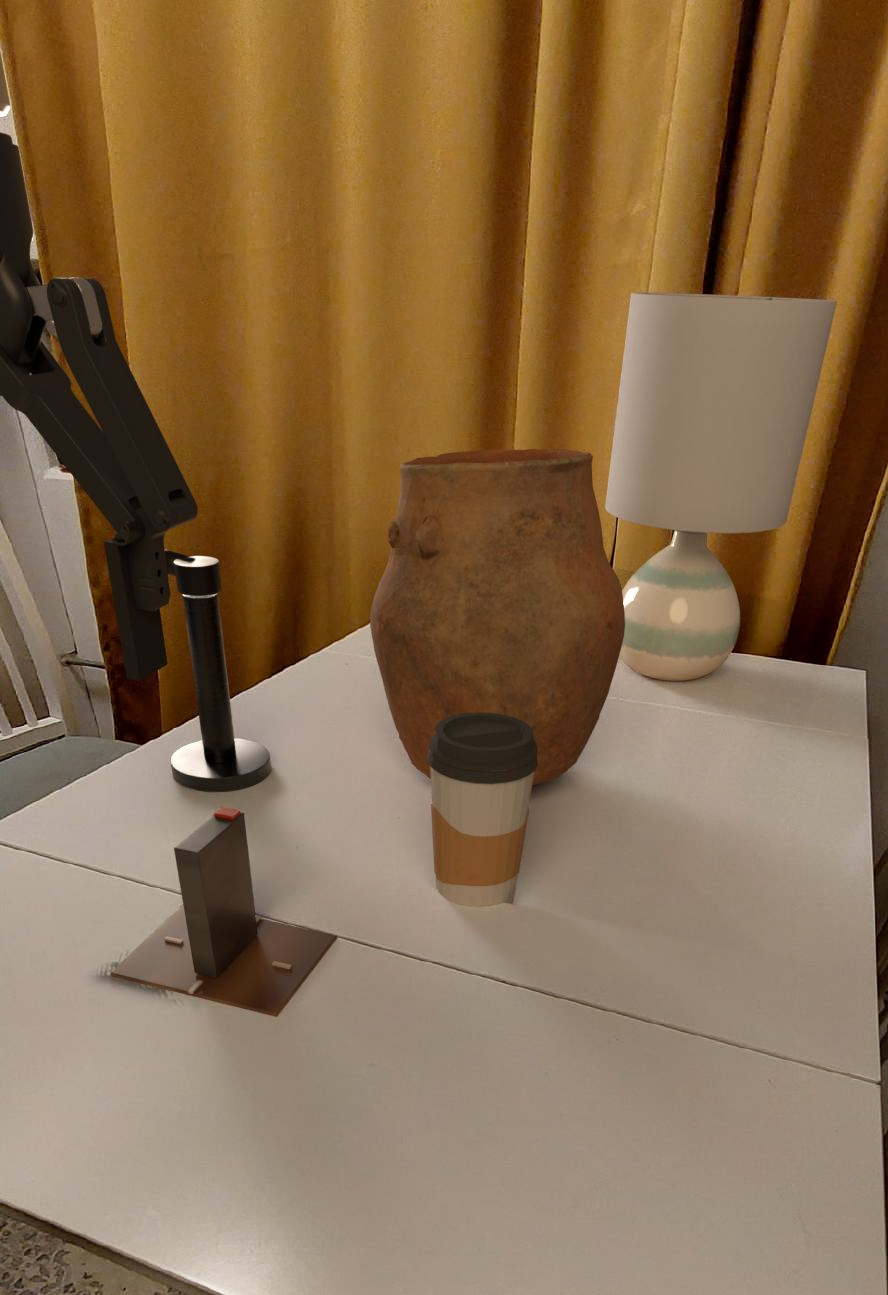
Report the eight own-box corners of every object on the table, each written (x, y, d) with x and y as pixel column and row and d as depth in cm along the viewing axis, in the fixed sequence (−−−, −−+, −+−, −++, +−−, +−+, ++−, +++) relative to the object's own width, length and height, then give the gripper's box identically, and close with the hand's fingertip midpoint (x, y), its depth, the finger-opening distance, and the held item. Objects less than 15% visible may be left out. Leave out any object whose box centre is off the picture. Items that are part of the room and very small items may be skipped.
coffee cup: (541, 920, 76) (560, 745, 67) (446, 939, 74) (453, 760, 65) (499, 870, 82) (511, 704, 73) (410, 887, 80) (411, 716, 71)
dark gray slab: (216, 978, 66) (197, 849, 59) (194, 973, 66) (172, 844, 60) (258, 933, 70) (244, 809, 64) (236, 928, 71) (220, 804, 64)
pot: (486, 712, 112) (502, 420, 94) (651, 777, 99) (707, 453, 80) (328, 768, 98) (311, 440, 80) (494, 853, 85) (520, 483, 67)
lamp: (636, 634, 138) (687, 293, 113) (776, 669, 127) (866, 301, 103) (554, 671, 124) (593, 291, 100) (704, 713, 114) (788, 301, 89)
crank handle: (237, 648, 90) (227, 559, 85) (203, 658, 87) (192, 566, 82) (148, 618, 96) (135, 533, 92) (115, 626, 94) (99, 540, 89)
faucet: (153, 782, 94) (121, 601, 84) (204, 745, 102) (181, 574, 91) (242, 799, 92) (221, 614, 81) (287, 759, 100) (273, 586, 89)
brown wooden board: (114, 996, 67) (108, 971, 66) (188, 922, 75) (185, 899, 73) (278, 1037, 64) (275, 1012, 63) (338, 956, 72) (337, 932, 70)
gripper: (240, 135, 38) (278, 663, 51) (-251, 126, 43) (-103, 606, 56) (137, 110, 32) (209, 713, 45) (-414, 103, 37) (-207, 643, 50)
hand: (36, 654), depth 51 cm, fingers open, 13 cm apart
